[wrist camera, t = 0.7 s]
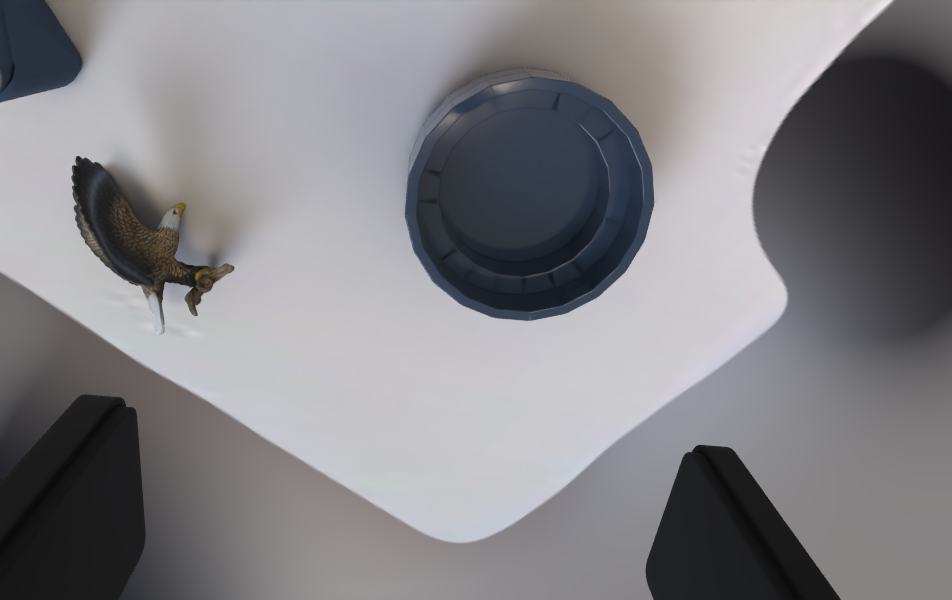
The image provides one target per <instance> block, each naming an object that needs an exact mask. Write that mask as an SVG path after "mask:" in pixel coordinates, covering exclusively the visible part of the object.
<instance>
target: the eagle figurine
mask: <svg viewBox="0 0 952 600" xmlns="http://www.w3.org/2000/svg"><path fill="white" fill-rule="evenodd" d="M76 165H77V166H75V165H73V166H72V172H73V175H72V177H71V178H72V181H73V183H74V186H72V189H73V197H74V200H75V202H76V203H77V205H75V206H74V210H75V212H76V214H77V216H76V217H75V220H76V221H77V226H78V228H79V229H80V231H81V235H82V237H83V238H84V239H85V243H86V244H87V245H88V246H89V247H90V248H91V250H92V251H93V252H94V254H95V255H96V256H97V257H99V258H100V260H101V261H102V262H103V263H104V264H105V265H106V266H107V267H109V268H110V269H111V270H112V271H113V272H114V273H116V274H117V275H118V276H120V277H121V278H123V279H124V280H127V281H128V282H129V283H131V284H134V285H136V286H138V285H140V286H141V287H142V289H143V292H144V294H145V296H146V298H147V300H148V303H149V306H150V310H151V313H152V317H153V320H154V324H155V327H156V331H157V333H158V335H162V334H163V333H164V316H163V310H162V299H163V290H164V284H165V282H168V283H179V284H181V285H187V286H189V287H193V288H192V289H191V291H190V292H189V293H188V294H187V295H186V296H185V301H186V302H187V304H188V307H189V310H190V312H191V313H192V314H193V315H194V316H197V315H198V314H197V310H196V307H195V305H198V304H199V303H200V302H201V296H202V295H203V293H206V292H208V291H210V290H211V289H212V286H213V284H214V283H215V282H217V281H218V280H220V279H221V278H222V277H224V276H225V275H226V274H228V273H231V272H232V271H233V270H234V267H233V266H232V265H229V264H224V265H222V266H221V267H219V268H210V267H208V266H193V265H186V264H184V263H183V262H179V261H177V260H176V259H175V253H176V251H177V247H178V242H179V221H180V217H181V213H182V211H183V209H184V208H185V207H186V206H185V205H184V204H179V205H177V206H175V207H174V208H171V209H170V210H169V211H168V212H167V213H166V214H165V215H164V217H163V219H162V221H161V223H160V225H159V227H158V228H157V230H156V232H154V231H151V230H149V229H148V228H146V227H144V226H143V225H142V224H141V223H140V222H139V221H138V220H137V218H136V217H135V215H134V213H133V212H132V210H131V208H130V206H129V204H128V203H127V201H126V200H125V199H124V198H123V197H122V196H121V195H120V194H119V193H118V192H117V191H116V188H115V185H114V183H113V181H112V179H111V178H110V176H109V174H108V173H107V171H106V170H105V169H104V168H103V167H102V166H101V165H100V164H99V163H97V162H94V164H93V163H92V162H91V161H90V160H89V159H87V158H84V159H82V158H81V157H79V156H77V157H76Z"/></svg>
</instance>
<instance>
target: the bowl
mask: <svg viewBox="0 0 952 600" xmlns="http://www.w3.org/2000/svg"><path fill="white" fill-rule="evenodd" d="M651 165H652V164H651V162H650V159H649V157H648V154H647V152H646V149H645V147H644V145H643V142H642V140H641V137H640V135H639V133H638V131H637V129H636V128H635V127H634V126H633V124H632V123H631V122H630V121H629V120H628V119H627V118H626V117H625V116H624V115H623V114H622V112H621V111H620V110H619V109H618V108H617V107H616V106H615V105H614V104H613V103H612V102H611V101H610V100H608V99H607V98H605V97H603V96H601V95H599V94H597V93H595V92H594V91H592V90H590V89H588V88H586V87H584V86H582V85H580V84H578V83H576V82H574V81H573V80H571V79H569V78H567V77H565V76H563V75H561V74H559V73H556V72H550V71H542V70H535V69H528V68H515V69H510V70H505V71H500V72H495V73H490V74H485V75H483V76H480V77H478V78H477V79H475V80H473V81H471V82H470V83H468V84H466V85H465V86H463V87H461V88H459V89H458V90H456V91H454V92H452V93H451V94H450V95H449V96H448V97H447V98H446V99H445V100H444V101H443V102H442V103H441V104H440V106H439V107H438V108H437V109H436V110H435V111H434V112H433V113H432V115H431V116H430V117H429V118H428V119H427V120H426V121H425V123H424V124H423V127H422V129H421V131H420V134H419V136H418V138H417V141H416V143H415V145H414V148H413V150H412V152H411V155H410V158H409V170H408V181H407V192H406V205H405V218H406V222H407V226H408V231H409V235H410V239H411V243H412V247H413V251H414V253H415V255H416V256H417V258H418V259H419V261H420V262H421V264H422V266H423V267H424V269H425V270H426V272H427V273H428V275H429V277H430V278H431V280H432V281H433V282H434V283H435V284H436V285H437V286H438V287H440V288H441V289H442V290H443V291H444V292H446V293H447V294H448V295H449V296H451V297H452V298H453V299H454V300H456V301H457V302H458V303H459V304H461V305H463V306H465V307H468V308H470V309H473V310H475V311H478V312H480V313H483V314H485V315H488V316H490V317H494V318H501V319H513V320H525V321H529V320H530V321H531V320H536V319H541V318H547V317H552V316H557V315H562V314H565V313H568V312H570V311H572V310H574V309H576V308H578V307H580V306H582V305H584V304H586V303H588V302H589V301H591V300H593V299H595V298H597V296H600V295H601V294H602V293H603V292H604V291H605V290H606V289H607V288H608V287H610V286H611V285H612V284H613V283H614V282H615V281H616V280H617V279H618V278H619V277H620V276H622V275H623V274H624V273H625V272H626V270H627V269H628V267H629V265H630V264H631V262H632V260H633V259H634V257H635V255H636V254H637V252H638V251H639V249H640V247H641V246H642V244H643V242H644V240H645V238H646V234H647V230H648V226H649V222H650V218H651V214H652V211H653V207H654V189H653V172H652V166H651Z"/></svg>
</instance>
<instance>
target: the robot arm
mask: <svg viewBox="0 0 952 600" xmlns="http://www.w3.org/2000/svg"><path fill="white" fill-rule="evenodd" d="M144 544H145V520H144V506H143V494H142V480H141V467H140V452H139V438H138V425H137V414H136V410H135V409H134V408H132V407H126V404H125V401H124V399H122V398H120V397H110V396H97V395H86V394H85V395H81V396H79V397H78V398H77V399H76V400H75V401H74V402H73V403H72V404H71V405H70V407H69V408H68V409H67V410H66V411H65V412H64V413H63V414H62V416H61V417H60V418H59V419H58V420H57V421H56V422H55V423H54V424H53V425H52V426H51V428H50V429H49V430H48V431H47V432H46V433H45V434H44V435H43V436H42V438H41V439H40V440H39V441H38V442H37V443H36V444H35V445H34V446H33V447H32V448H31V450H30V451H29V452H28V453H27V454H26V455H25V456H24V457H23V458H22V459H21V461H20V462H19V463H18V464H17V465H16V466H15V467H14V468H13V469H12V470H11V472H10V473H9V474H8V475H5V476H2V477H0V600H118V599H119V597H120V596H121V594H122V592H123V590H124V588H125V586H126V584H127V582H128V580H129V578H130V576H131V575H132V572H133V571H134V569H135V567H136V565H137V563H138V561H139V559H140V557H141V554H142V551H143V548H144ZM646 579H647V583H648V586H649V589H650V591H651V594H652V596H653V599H654V600H841V599H840V598H839V596H838V595H837V594H836V592H835V591H834V589H833V588H832V587H831V585H830V584H829V582H828V581H827V580H826V578H825V577H824V575H823V574H822V573H821V571H820V570H819V568H818V567H817V566H816V564H815V563H814V562H813V560H812V559H811V557H810V556H809V554H808V553H807V552H806V550H805V549H804V548H803V546H802V545H801V543H800V542H799V541H798V539H797V538H796V536H795V535H794V534H793V532H792V531H791V529H790V528H789V527H788V525H787V524H786V522H785V521H784V520H783V518H782V517H781V516H780V514H779V513H778V511H777V510H776V508H775V507H774V506H773V504H772V503H771V502H770V500H769V499H768V497H767V496H766V495H765V493H764V492H763V490H762V489H761V488H760V486H759V485H758V483H757V482H756V481H755V479H754V478H753V476H752V475H751V474H750V472H749V471H748V469H747V468H746V467H745V465H744V464H743V463H742V461H741V460H740V459H739V457H738V456H737V454H736V453H735V452H734V451H733V450H732V449H731V448H728V447H720V446H719V447H718V446H706V445H698V446H696V447H695V448H694V449H693V451H692V452H688V453H686V454H685V455H684V457H683V459H682V461H681V464H680V467H679V470H678V473H677V476H676V479H675V482H674V485H673V487H672V490H671V493H670V496H669V499H668V502H667V505H666V508H665V511H664V513H663V516H662V519H661V522H660V525H659V528H658V531H657V534H656V536H655V539H654V542H653V545H652V548H651V551H650V554H649V557H648V559H647V564H646Z"/></svg>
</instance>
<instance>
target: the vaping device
mask: <svg viewBox="0 0 952 600" xmlns="http://www.w3.org/2000/svg"><path fill="white" fill-rule="evenodd" d="M80 68H81V58H80V55H79V53H78V52H77V50H76V49H75V47H74V46H73V44H72V42H71V41H70V39H69V38H68V36H67V35H66V33H65V32H64V30H63V29H62V27H61V26H60V24H59V23H58V21H57V19H56V18H55V16H54V15H53V13H52V12H51V10H50V9H49V7H48V6H47V4H46V3H45V1H44V0H0V102H3V101H7V100H12V99H16V98H20V97H24V96H28V95H32V94H36V93H40V92H44V91H48V90H52V89H56V88H60V87H64V86H67V85H68V84H69V83H71V82H72V81H73V80H74V79H75V78H76V76H77V75H78V73H79V71H80Z"/></svg>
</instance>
